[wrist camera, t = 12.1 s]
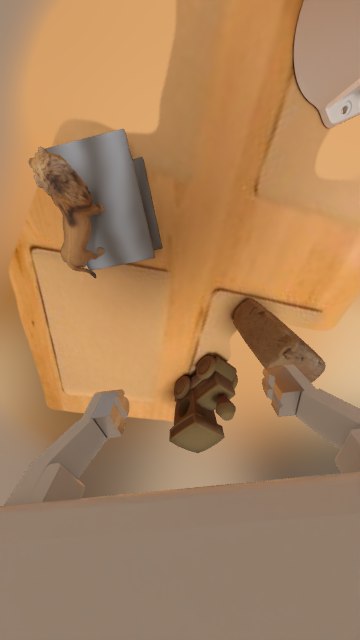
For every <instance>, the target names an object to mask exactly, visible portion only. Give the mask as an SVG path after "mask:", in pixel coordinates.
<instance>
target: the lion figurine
mask: <svg viewBox="0 0 360 640" xmlns="http://www.w3.org/2000/svg"><path fill="white" fill-rule="evenodd" d="M29 165H30V167H31V168H33V172H34V173H35V175H34V179H35V181H36V184H37V186H38V187H41V188H43V189H44V190H45V192H46V193H47V194H48V195H50V196H51V197H52V199H53V201H54V204H55V205H56V206H58V207H59V208H60V210H61V212H62V214H63V230H64V243H63V246H62V248H61V256H62V259H63V261H64V262H66V263H67V264H68V266H69V267H70V268H71V269H73V270H75V271H83V272H88V273H90V274H91V275H92V276H93V277H94V278H96V274H95V273H94V272H93V271H91V270H88V269H85V268H81V267H85V266H86V265H87V262H88V261H89V260H91V259H93V260H96V259H97V258H98V257H99V256H101V255H103V254H104V253H105V250H104V248H102V247H98V248H97V252H96V253H95V254H94V253H93V252H92V251H88V250H87V249H86V245H87V243H88V240H89V237H90V233H91V225H90V217H91V216H92V215H95V214H97V215H99V214H102V213H103V212H104V210H105V209H104V207H103V205H102V204H98V203H97V205H95V204H93V203H92V195H91V193H90V192H89V191H88V187H87V185H86V183H85V182H84V181H83V180H82V179H81V177H80V176H79V175H78V174H77V172H76V171H75V170H74V169H73V168H71V166H70V165H69V164H68V163H67V162H66V160H65V159H64V158H62V157H61V156H60V155H59V154H54V153H53V152H48V151H47V150H46V149H44V148H42V147H38V153H35V158H30V159H29Z"/></svg>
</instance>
